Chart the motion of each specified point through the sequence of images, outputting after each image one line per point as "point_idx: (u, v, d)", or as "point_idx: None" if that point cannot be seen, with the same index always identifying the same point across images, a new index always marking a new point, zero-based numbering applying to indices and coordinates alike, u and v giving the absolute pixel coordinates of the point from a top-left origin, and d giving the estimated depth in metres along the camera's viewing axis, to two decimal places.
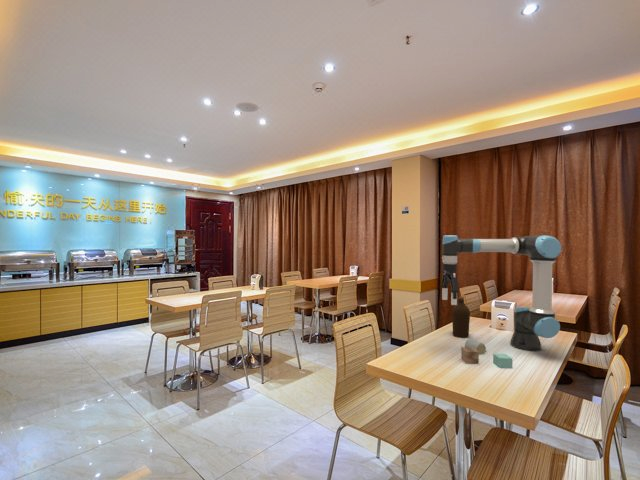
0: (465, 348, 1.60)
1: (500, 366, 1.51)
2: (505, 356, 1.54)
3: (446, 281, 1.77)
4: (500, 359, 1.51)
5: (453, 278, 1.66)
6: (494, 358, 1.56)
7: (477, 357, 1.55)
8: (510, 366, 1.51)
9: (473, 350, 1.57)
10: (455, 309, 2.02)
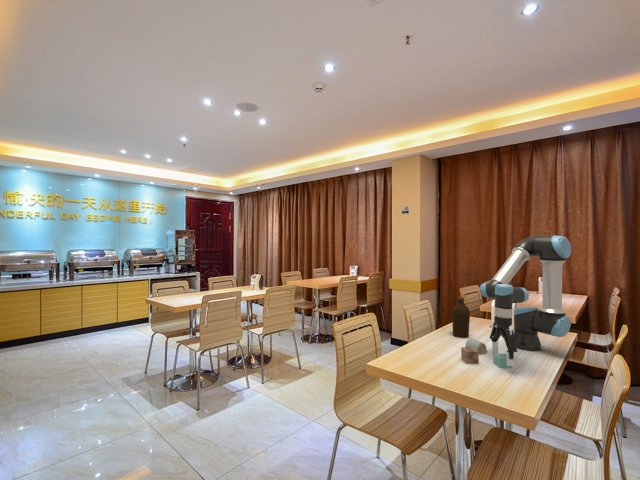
0: (465, 348, 1.60)
1: (500, 366, 1.51)
2: (505, 356, 1.54)
3: (497, 335, 1.58)
4: (500, 359, 1.51)
5: (509, 335, 1.47)
6: (494, 358, 1.56)
7: (477, 357, 1.55)
8: (510, 366, 1.51)
9: (473, 350, 1.57)
10: (455, 309, 2.02)
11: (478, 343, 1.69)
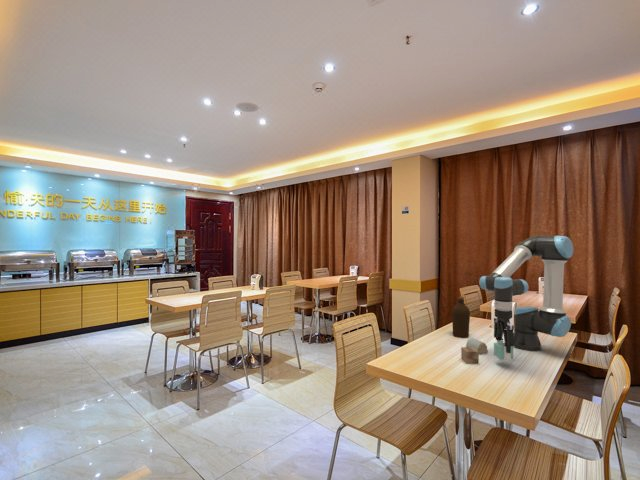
0: (465, 348, 1.60)
1: (501, 355, 1.51)
2: None
3: (500, 330, 1.56)
4: (501, 348, 1.51)
5: (509, 331, 1.48)
6: (495, 347, 1.56)
7: (477, 357, 1.55)
8: (511, 355, 1.51)
9: (473, 350, 1.57)
10: (455, 309, 2.02)
11: (479, 343, 1.70)
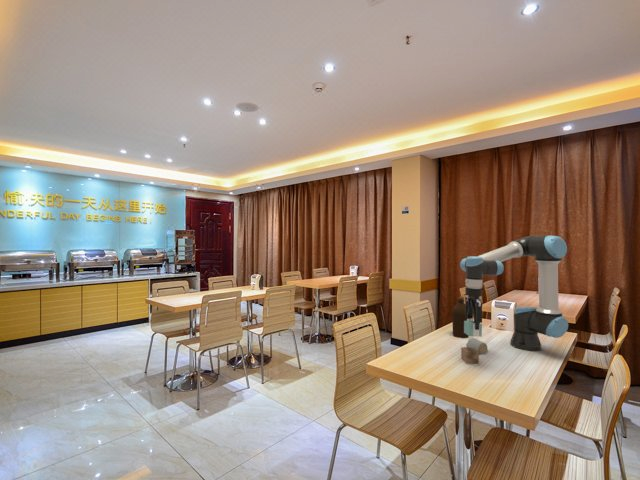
0: (465, 348, 1.60)
1: (470, 332, 1.55)
2: None
3: (470, 308, 1.60)
4: (470, 325, 1.55)
5: (478, 307, 1.51)
6: (465, 325, 1.59)
7: (477, 357, 1.55)
8: (479, 332, 1.55)
9: (473, 350, 1.57)
10: (455, 309, 2.02)
11: (479, 343, 1.70)
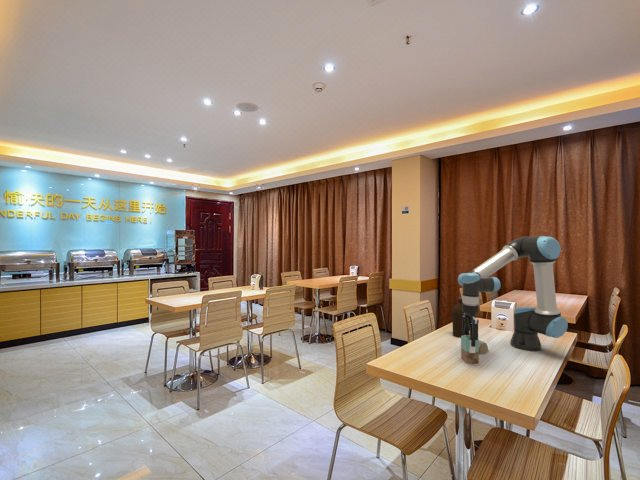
0: None
1: (466, 347, 1.56)
2: None
3: (467, 325, 1.60)
4: (466, 340, 1.56)
5: (474, 325, 1.52)
6: (461, 340, 1.60)
7: (477, 357, 1.55)
8: (476, 347, 1.55)
9: None
10: (455, 309, 2.02)
11: (480, 343, 1.70)
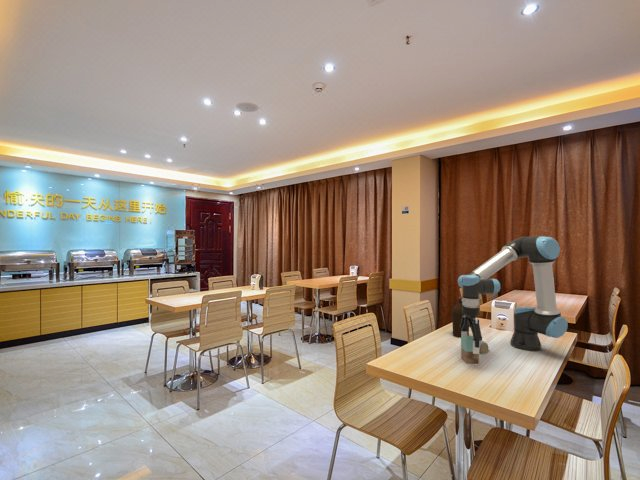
0: None
1: (466, 347, 1.56)
2: (471, 337, 1.58)
3: (466, 325, 1.62)
4: (466, 340, 1.55)
5: (475, 324, 1.51)
6: (461, 340, 1.60)
7: (477, 357, 1.55)
8: None
9: None
10: (455, 309, 2.02)
11: (480, 343, 1.70)
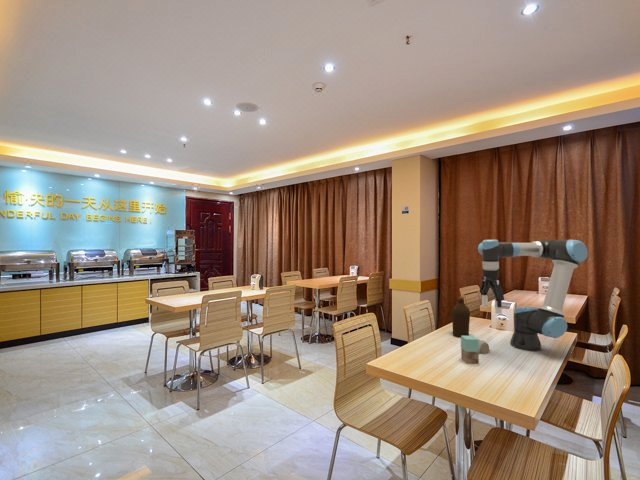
0: None
1: (466, 347, 1.56)
2: (471, 337, 1.58)
3: (486, 288, 1.68)
4: (466, 340, 1.55)
5: (497, 285, 1.57)
6: (461, 340, 1.60)
7: (477, 357, 1.55)
8: (476, 347, 1.55)
9: None
10: (455, 309, 2.02)
11: (481, 342, 1.70)
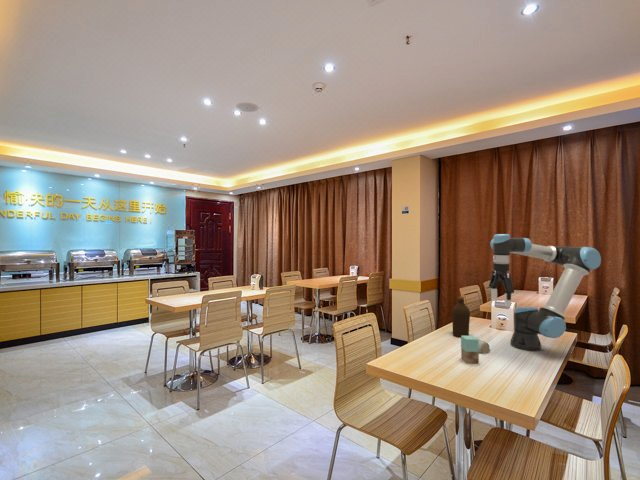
0: None
1: (466, 347, 1.56)
2: (471, 337, 1.58)
3: (496, 281, 1.71)
4: (466, 340, 1.55)
5: (507, 278, 1.60)
6: (461, 340, 1.60)
7: (477, 357, 1.55)
8: (476, 347, 1.55)
9: None
10: (455, 309, 2.02)
11: (481, 342, 1.71)
